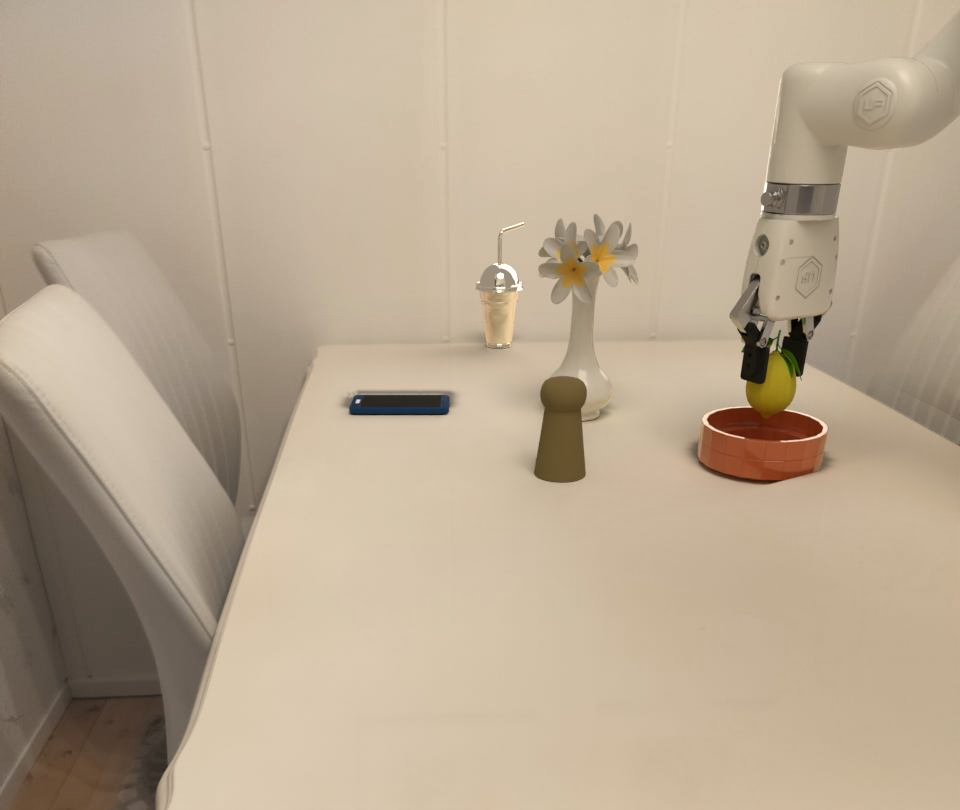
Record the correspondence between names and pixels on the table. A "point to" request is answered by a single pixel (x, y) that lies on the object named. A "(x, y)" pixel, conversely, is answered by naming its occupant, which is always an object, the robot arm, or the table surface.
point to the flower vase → (586, 296)
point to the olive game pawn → (561, 430)
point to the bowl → (761, 443)
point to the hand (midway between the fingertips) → (771, 376)
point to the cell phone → (400, 404)
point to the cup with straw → (499, 298)
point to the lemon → (774, 383)
